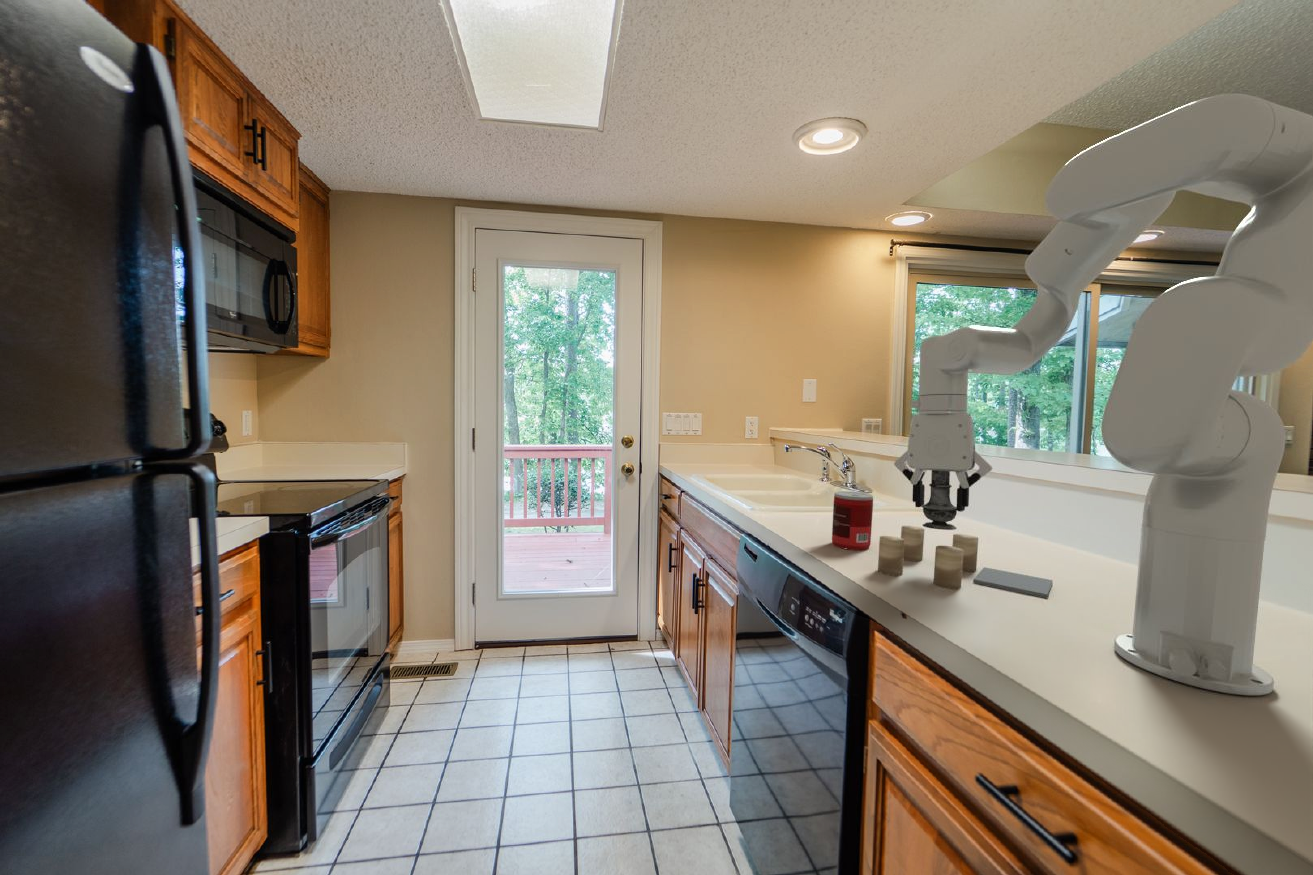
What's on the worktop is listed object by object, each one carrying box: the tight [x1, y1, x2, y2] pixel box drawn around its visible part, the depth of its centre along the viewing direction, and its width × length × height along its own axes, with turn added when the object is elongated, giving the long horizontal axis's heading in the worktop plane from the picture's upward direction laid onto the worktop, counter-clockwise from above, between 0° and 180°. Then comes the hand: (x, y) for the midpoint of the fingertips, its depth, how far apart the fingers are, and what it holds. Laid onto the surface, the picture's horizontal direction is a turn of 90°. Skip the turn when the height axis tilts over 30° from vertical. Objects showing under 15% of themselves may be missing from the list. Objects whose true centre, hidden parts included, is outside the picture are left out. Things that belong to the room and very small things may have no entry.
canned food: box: [831, 490, 874, 551], centre depth 110 cm, size 8×8×11 cm
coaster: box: [972, 566, 1053, 599], centre depth 88 cm, size 10×10×1 cm
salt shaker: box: [920, 470, 958, 531], centre depth 92 cm, size 6×6×12 cm
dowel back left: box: [900, 525, 925, 562], centre depth 102 cm, size 4×4×6 cm
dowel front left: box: [877, 535, 905, 577], centre depth 92 cm, size 4×4×6 cm
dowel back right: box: [951, 533, 979, 573], centre depth 96 cm, size 4×4×6 cm
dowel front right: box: [933, 545, 964, 590], centre depth 86 cm, size 4×4×6 cm
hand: (939, 507), depth 92 cm, fingers closed on salt shaker, 5 cm apart
